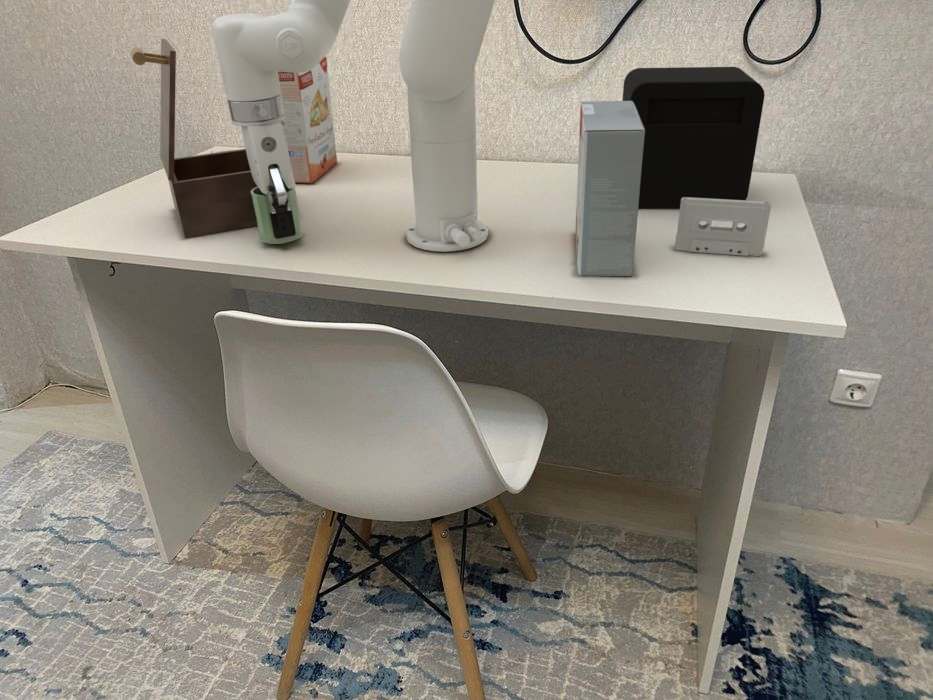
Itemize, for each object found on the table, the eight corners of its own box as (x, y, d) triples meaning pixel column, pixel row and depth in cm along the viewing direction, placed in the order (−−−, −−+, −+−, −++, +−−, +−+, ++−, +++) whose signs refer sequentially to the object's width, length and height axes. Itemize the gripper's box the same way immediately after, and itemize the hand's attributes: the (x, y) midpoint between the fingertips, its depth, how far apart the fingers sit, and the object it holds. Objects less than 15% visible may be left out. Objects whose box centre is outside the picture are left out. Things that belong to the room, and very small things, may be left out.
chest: (277, 194, 135) (269, 145, 130) (296, 219, 123) (288, 166, 119) (175, 210, 129) (163, 159, 124) (184, 238, 117) (171, 183, 112)
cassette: (761, 252, 105) (771, 200, 101) (762, 257, 104) (772, 205, 100) (674, 246, 108) (680, 195, 104) (674, 251, 107) (680, 200, 103)
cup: (306, 238, 113) (298, 190, 109) (265, 247, 110) (254, 198, 107) (297, 225, 118) (288, 179, 114) (257, 233, 116) (247, 187, 112)
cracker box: (314, 184, 139) (298, 67, 128) (284, 183, 140) (266, 67, 130) (340, 163, 151) (327, 54, 140) (312, 162, 152) (297, 54, 141)
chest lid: (166, 39, 116) (128, 33, 114) (175, 51, 105) (134, 45, 102) (165, 157, 124) (130, 154, 122) (174, 180, 112) (135, 178, 110)
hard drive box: (574, 234, 113) (580, 100, 103) (624, 234, 113) (635, 99, 103) (576, 276, 100) (584, 127, 90) (634, 277, 99) (648, 127, 89)
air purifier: (728, 181, 133) (746, 64, 123) (747, 209, 121) (768, 81, 111) (615, 181, 135) (623, 66, 125) (621, 208, 123) (631, 82, 113)
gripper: (297, 117, 99) (318, 242, 108) (271, 96, 113) (291, 208, 122) (240, 125, 96) (267, 253, 105) (221, 103, 110) (245, 217, 119)
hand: (280, 228), depth 113 cm, fingers closed on cup, 6 cm apart
